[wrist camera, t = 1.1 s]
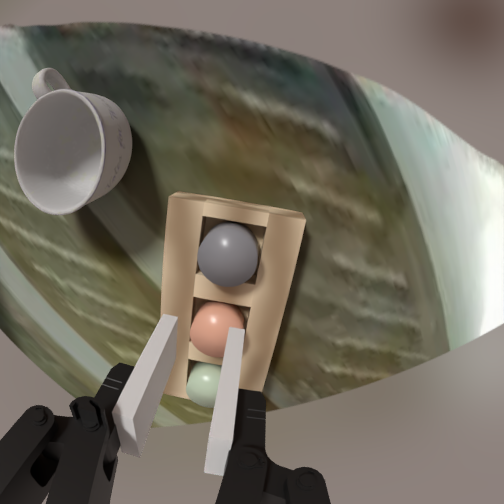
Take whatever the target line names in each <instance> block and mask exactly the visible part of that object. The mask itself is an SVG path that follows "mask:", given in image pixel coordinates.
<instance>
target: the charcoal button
mask: <svg viewBox="0 0 504 504" xmlns="http://www.w3.org/2000/svg"><path fill="white" fill-rule="evenodd" d="M257 259H258V242H257V239H256V237H255V235H254V233H253V232H252V231H251V230H250V229H249V228H248V227H247V226H245V225H243V224H241V223H239V222H234V221H226V222H222V223H219V224H217V225H215V226H214V227H213V228H211V230H210V231H209V232H208V233H207V235H206V237H205V238H204V240H203V242H202V243H201V245H200V247H199V250H198V254H197V260H198V265H199V268H200V270H201V272H202V273H203V275H204V276H205V277H206V278H207V279H208V280H209V281H211V282H212V283H214V284H216V285H219V286H223V287H234V286H238V285H241V284H243V283H245V282H246V281H247V280H249V279H250V278H251V276H252V275H253V274H254V272H255V270H256V267H257Z"/></svg>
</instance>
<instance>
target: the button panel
mask: <svg viewBox="0 0 504 504" xmlns="http://www.w3.org/2000/svg"><path fill="white" fill-rule="evenodd" d="M226 221H234V222H239V223H241V224H243V225H245V226H247V227H248V228H249V229H250V230H251V231H252V232H253V233H254V235H255V237H256V239H257V242H258V259H257V267H256V270H255V272H254V274H253V275H252V276H251V278H250V279H249V280H247V281H246V282H245V283H243V284H241V285H238V286H234V287H223V286H219V285H216V284H214V283H212V282H211V281H209V280H208V279H207V278H206V277H205V276H204V275H203V273H202V272H201V270H200V268H199V265H198V260H197V254H198V250H199V247H200V245H201V243H202V242H203V240H204V238H205V237H206V235H207V233H208V232H209V231H210V230H211V228H213V227H214V226H215V225H217V224H219V223H222V222H226ZM305 223H306V219H305V217H304V215H303V213H302V212H297V211H291V210H286V209H281V208H276V207H270V206H265V205H259V204H253V203H248V202H242V201H236V200H230V199H224V198H218V197H212V196H206V195H199V194H193V193H186V192H180V191H178V192H176V193H174V194H173V195H171V196H169V200H168V210H167V220H166V231H165V244H164V258H163V274H162V294H161V317H162V315H163V314H167V315H171V316H176V317H178V326H177V345H176V360H175V362H174V365H173V368H172V370H171V373H170V376H169V378H168V381H167V384H166V386H165V389H164V392H163V393H164V394H168V395H172V396H177V397H181V398H186V399H190V398H189V397H188V395H187V393H186V386H187V383H188V379H189V376H190V373H191V369H192V367H193V366H194V364H196V363H197V362H199V361H201V362H206V363H211V364H217V365H222V363H223V358H224V357H211V356H208V355H205V354H203V353H202V352H200V351H199V350H198V349H197V348H196V347H195V346H194V345H193V343H192V341H191V339H190V329H191V326H192V323H193V321H194V318H195V316H196V313H197V310H198V309H199V307H200V306H201V305H202V304H203V303H205V302H207V301H209V300H214V301H219V302H225V303H230V304H234V305H236V306H237V307H238V308H239V309H240V311H241V312H242V314H243V317H244V328H243V329H245V334H244V343H243V352H242V361H241V370H240V379H239V388H240V389H247V390H254V391H261V392H262V390H263V387H264V383H265V380H266V376H267V373H268V369H269V365H270V362H271V358H272V355H273V351H274V347H275V344H276V340H277V336H278V333H279V329H280V325H281V321H282V317H283V314H284V310H285V306H286V302H287V298H288V294H289V290H290V286H291V282H292V278H293V274H294V270H295V266H296V262H297V257H298V253H299V249H300V245H301V240H302V236H303V232H304V227H305Z"/></svg>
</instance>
